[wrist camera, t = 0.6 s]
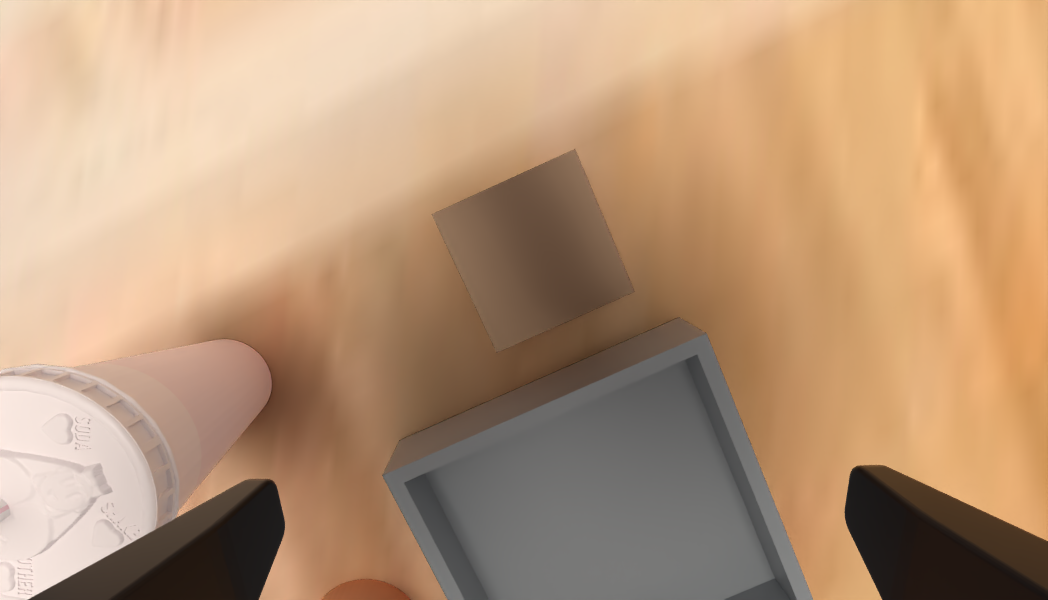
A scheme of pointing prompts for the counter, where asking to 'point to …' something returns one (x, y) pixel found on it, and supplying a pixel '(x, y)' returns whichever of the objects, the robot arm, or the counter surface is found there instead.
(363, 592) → the brown short cylinder
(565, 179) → the walnut block
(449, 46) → the counter surface
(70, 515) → the smoothie
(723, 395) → the tray
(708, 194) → the counter surface
